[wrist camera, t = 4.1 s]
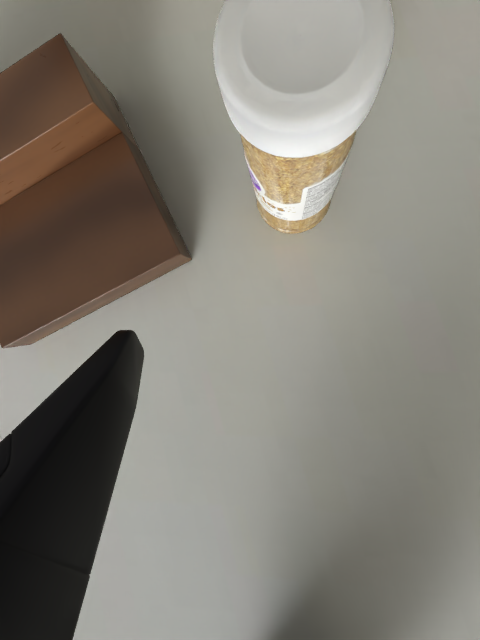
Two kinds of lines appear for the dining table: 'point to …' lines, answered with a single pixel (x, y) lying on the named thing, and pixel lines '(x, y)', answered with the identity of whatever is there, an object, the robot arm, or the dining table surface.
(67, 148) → the walnut step shelf
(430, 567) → the dining table surface
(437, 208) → the dining table surface
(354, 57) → the sprinkles bottle
